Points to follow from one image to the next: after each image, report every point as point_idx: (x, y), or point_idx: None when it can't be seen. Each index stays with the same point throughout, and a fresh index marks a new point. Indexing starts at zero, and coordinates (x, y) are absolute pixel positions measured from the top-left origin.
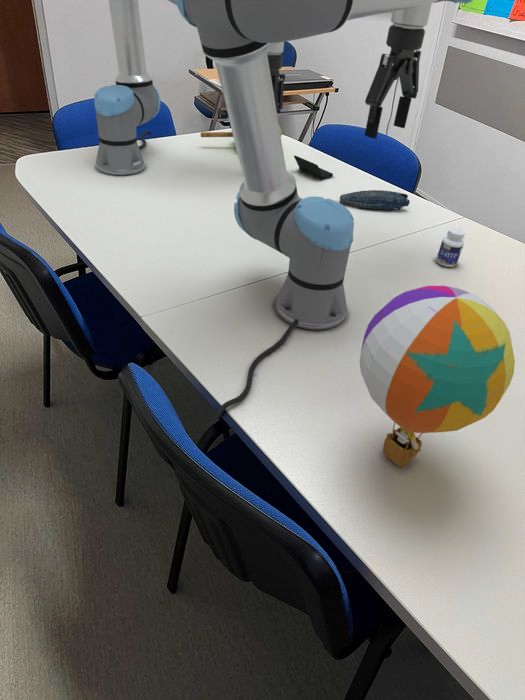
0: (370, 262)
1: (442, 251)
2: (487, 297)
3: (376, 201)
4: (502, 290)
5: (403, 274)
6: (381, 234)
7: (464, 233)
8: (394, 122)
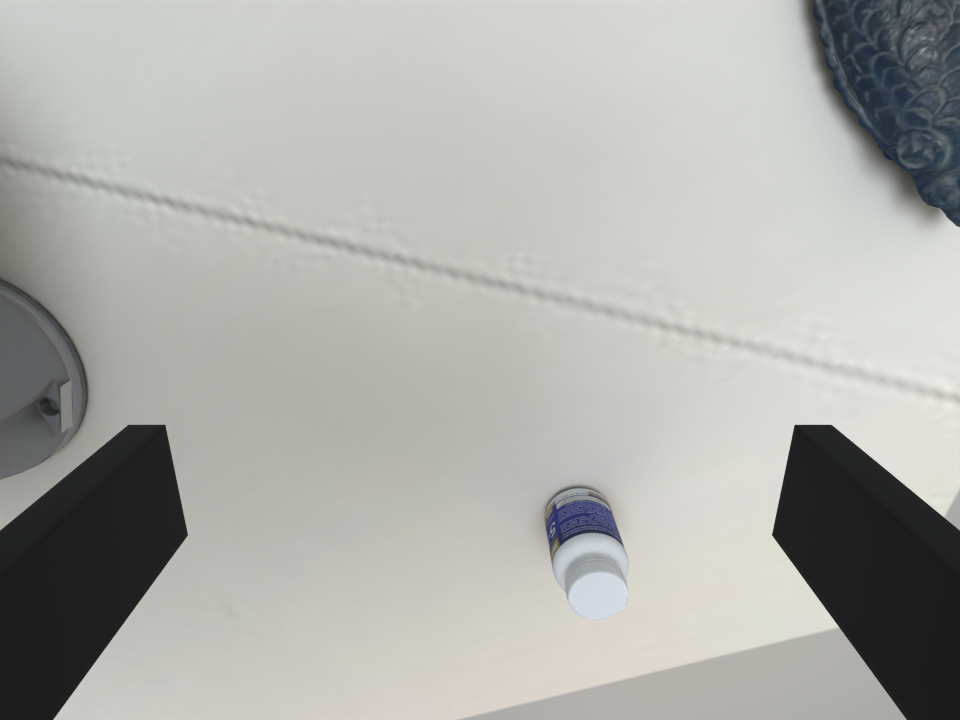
0: (379, 345)
1: (552, 532)
2: (472, 652)
3: (872, 95)
4: (541, 665)
5: (399, 456)
6: (620, 258)
7: (600, 619)
8: (811, 447)
